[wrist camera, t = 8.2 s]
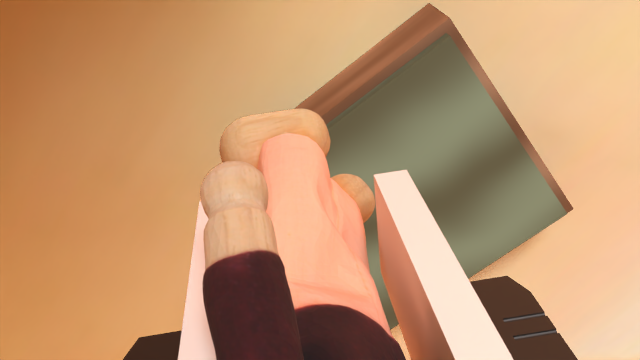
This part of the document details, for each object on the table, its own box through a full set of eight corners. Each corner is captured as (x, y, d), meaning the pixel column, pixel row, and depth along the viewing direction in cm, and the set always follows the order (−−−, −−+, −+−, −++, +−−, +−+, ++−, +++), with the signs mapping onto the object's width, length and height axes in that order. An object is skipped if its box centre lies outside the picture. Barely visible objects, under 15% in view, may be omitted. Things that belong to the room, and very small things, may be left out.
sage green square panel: (226, 161, 33) (225, 196, 30) (429, 3, 30) (453, 20, 27) (367, 301, 39) (379, 344, 36) (546, 181, 37) (579, 214, 33)
